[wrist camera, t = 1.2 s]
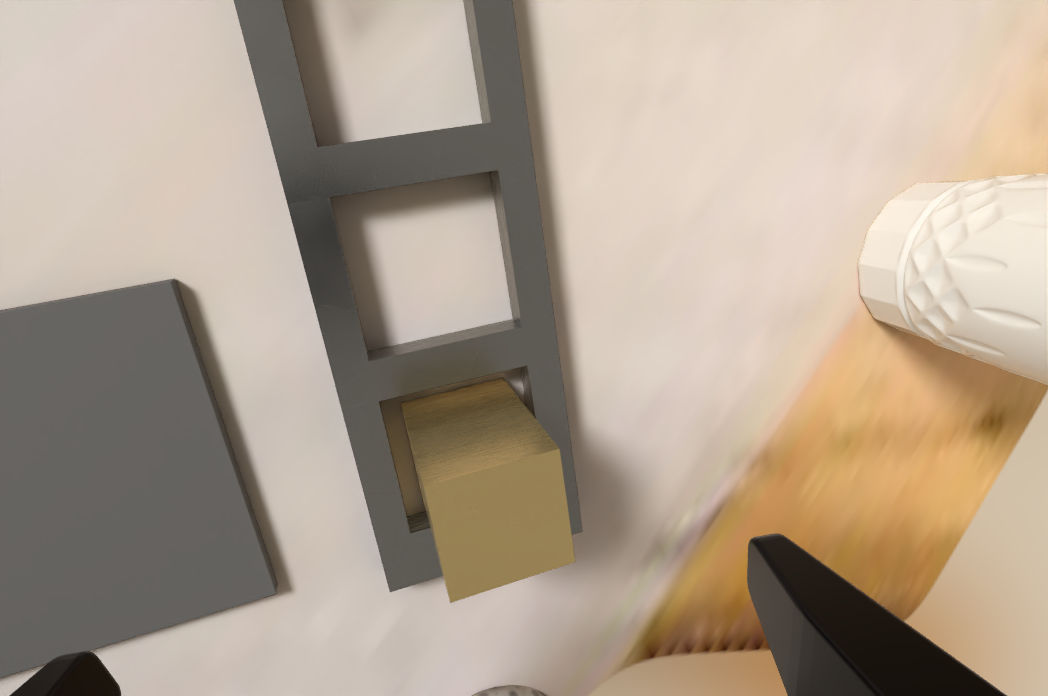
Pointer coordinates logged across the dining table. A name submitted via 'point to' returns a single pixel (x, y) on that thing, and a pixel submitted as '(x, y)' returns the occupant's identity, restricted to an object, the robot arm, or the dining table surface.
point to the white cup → (965, 269)
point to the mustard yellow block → (488, 487)
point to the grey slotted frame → (354, 370)
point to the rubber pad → (114, 478)
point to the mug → (510, 691)
